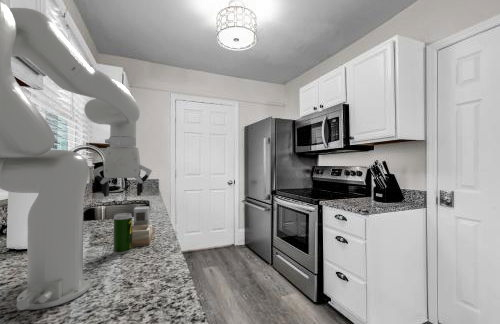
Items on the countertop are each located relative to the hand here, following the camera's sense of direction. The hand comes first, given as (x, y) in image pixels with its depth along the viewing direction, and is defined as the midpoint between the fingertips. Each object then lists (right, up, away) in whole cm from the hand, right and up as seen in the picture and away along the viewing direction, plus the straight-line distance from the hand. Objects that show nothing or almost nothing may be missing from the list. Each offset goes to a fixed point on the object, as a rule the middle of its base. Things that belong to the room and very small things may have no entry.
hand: (122, 195), depth 78 cm
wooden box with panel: (0, -18, +12) cm, 22 cm away
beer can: (0, -18, 0) cm, 18 cm away
